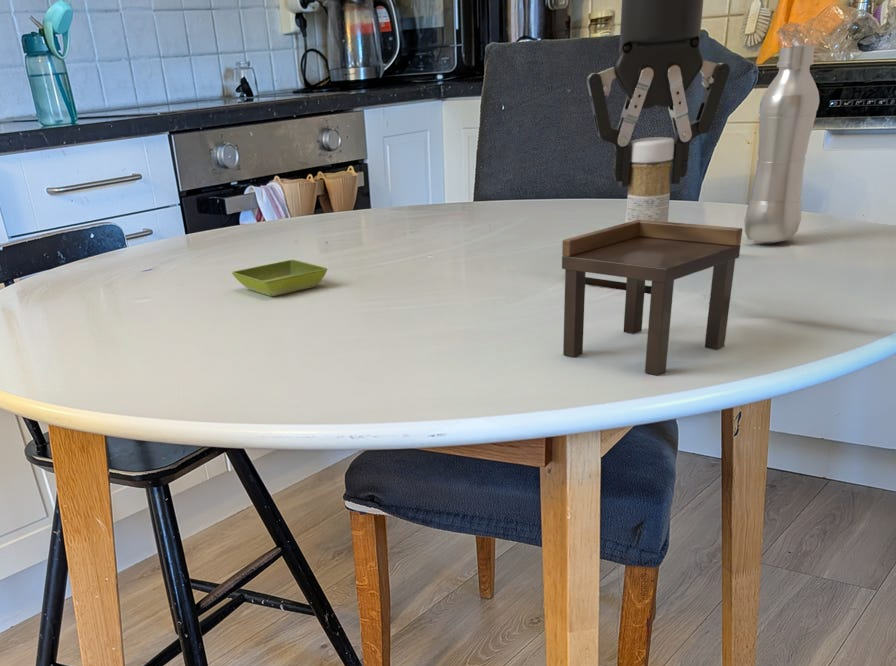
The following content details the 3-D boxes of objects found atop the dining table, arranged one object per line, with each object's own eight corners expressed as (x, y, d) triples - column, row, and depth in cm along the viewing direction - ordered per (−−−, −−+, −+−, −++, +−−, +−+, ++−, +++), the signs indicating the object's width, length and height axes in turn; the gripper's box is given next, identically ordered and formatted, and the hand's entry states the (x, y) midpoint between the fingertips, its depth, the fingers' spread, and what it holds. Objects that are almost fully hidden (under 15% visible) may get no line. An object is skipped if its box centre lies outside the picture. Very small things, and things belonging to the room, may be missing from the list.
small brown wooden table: (728, 346, 74) (743, 228, 69) (657, 376, 69) (668, 251, 63) (630, 328, 80) (637, 219, 75) (559, 355, 75) (562, 239, 70)
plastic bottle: (799, 237, 108) (830, 43, 97) (794, 248, 103) (827, 45, 92) (745, 237, 111) (769, 47, 100) (737, 247, 106) (762, 49, 95)
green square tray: (331, 286, 104) (329, 267, 103) (267, 300, 100) (264, 281, 99) (295, 276, 110) (292, 259, 109) (233, 290, 106) (230, 271, 105)
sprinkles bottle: (642, 271, 99) (651, 135, 91) (672, 277, 96) (685, 136, 88) (612, 279, 97) (619, 140, 89) (642, 285, 94) (652, 141, 86)
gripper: (590, -15, 79) (583, 194, 89) (752, -29, 78) (727, 184, 87) (582, -10, 85) (576, 185, 95) (732, -23, 84) (710, 175, 94)
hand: (649, 183), depth 91 cm, fingers closed on sprinkles bottle, 4 cm apart
